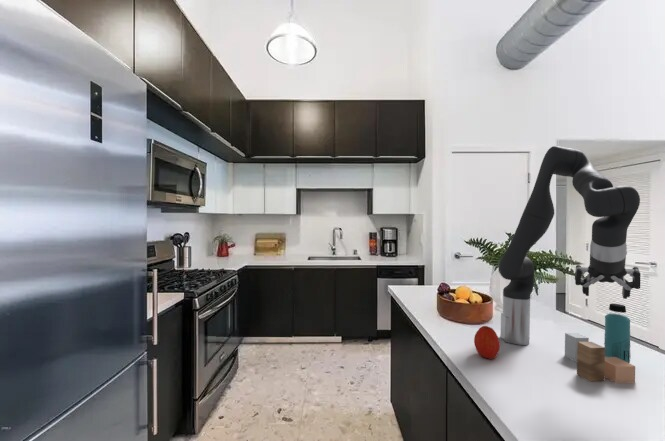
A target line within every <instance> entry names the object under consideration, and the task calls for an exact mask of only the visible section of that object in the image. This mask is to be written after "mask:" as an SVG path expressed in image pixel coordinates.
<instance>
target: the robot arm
mask: <svg viewBox="0 0 665 441" xmlns="http://www.w3.org/2000/svg"><path fill="white" fill-rule="evenodd" d="M553 175H557V176H561V177H568V178H569V177H571V178H572V181H571V182H572V187H573V188H574V189H575V191H576V192H577V193H578V194H579V195H580V196H581V198H582V199H583V204H584V210H585V211H586V213H587V214H588V215H590V216H592V217H596V218H597V219H596V220H594V221H593V223H592V226H591V241H590V245H589V266H588V267H582V265H581V264H577V265H576V266H575V272H574V283H575V285H576V286H582V288H581V289H582V294H583V295H585V297H589V296H590V286H591V285H594V284H596V283H598V282H599V283H612V284H614V283H615V282H616V283H617V284H618V285H619V286H620V287H622V291H621V294H622V295H621V296H622V298H623V299H628V298H630V297H631V292H632V291H631V290H633V289H636V290H639V289H641V272H640V269H639V267H637V266H634V267H632V268H626V260H627V254H628V251H627V249H628V246H627V235H628V234H627V233H628V228H629V227H630V225H631V223H632V221H633V219H634V218H635V216H636V214H637V212H638V209H639V208H640V204H641V198H640V194H639V192H638V190H637V189H636V188H634V187H632V186H630V185H621V186H620V185H619V186H614V185H613V183H612V182H611V181H610V180H609V179H608V178H607V177H605V175H603V174H601V173H600V172H599V171H598V170H597V169H596V168H595V167H594V166H593V164H592V163H591V161H590V159H589V158H588V156H587V155H586V153H584V151H581V150H579V149H576V148H569V147H566V146H565V147H563V146H559V145H557V146H556V145H553V146H551V147H550V148H549V149H547V151H546V153H545V154H544V157H543V158H542V161H541V164H540V167H539V170H538V173H537V177H536V180H535V183H534V186H533V189H532V190H531V194H530V196H529V199H528V201H527V202H526V205H525V207H524V210H523V212H522V213H521V217H520V220H519V223H518V225H517V227H516V230H515V232H514V233H513V236H512V239H511V241H510V243H509V245H508V247H507V248H506V250H505V252H504V254H503V256H502V257H501V259H500V261H499V266H498V270H499V273H500V276H501V277H502V278H503V279H505V280H509V281H510V282H509V283H508V284H507V285H506V286H505V287H504V288H503V290H502V312H501V313H500V338H501V339H502V340H503V341H504V342H505V343H508V344H514V345H518V346H519V345H520V346H527V345H529V344H530V339H531V338H530V335H531V334H530V330H531V329H530V328H531V327H530V326H531V320H530V319H531V296H532V295H531V294H532V293H533V290H534V282H535V281H534V280H535V266H534V263H533V261H532V259H530V257H528V256H527V254H528V252H530V249H531V248H532V247H533V246H534V245H535V244H536V243H538V241H539V240H540V239H541V238H542V237H543V236H544V235H545V234H546V232H547V231H548V230H549V227H550V225H551V223H552V220H553V219H554V216H555V207H554V202H553V199H552V196H551V187H550V186H551V182H552V179H553V178H552V177H553ZM585 273H587V275H586V276H585V277H584V278H582V276H584V275H585ZM626 275H629V277H631V278H632V281H628V279H626V278H625V276H626Z"/></svg>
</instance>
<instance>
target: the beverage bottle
mask: <svg viewBox="0 0 665 441" xmlns="http://www.w3.org/2000/svg"><path fill="white" fill-rule="evenodd" d="M608 311H611V312H610V313H609V312H608V313H607V314H606V315H604V337H603V338H604V343H603V345H604V346H603V347H604V348H605V357H617V358H619V359H621V360H623V361H625V362H628V363H630V362H631V356H632V354H631V319H630V318H629V317H628V316H627V315H624V314H621V313H627V309H626V306H625V305H624V304H620V303H609V306H608ZM630 364H631V363H630Z"/></svg>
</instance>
